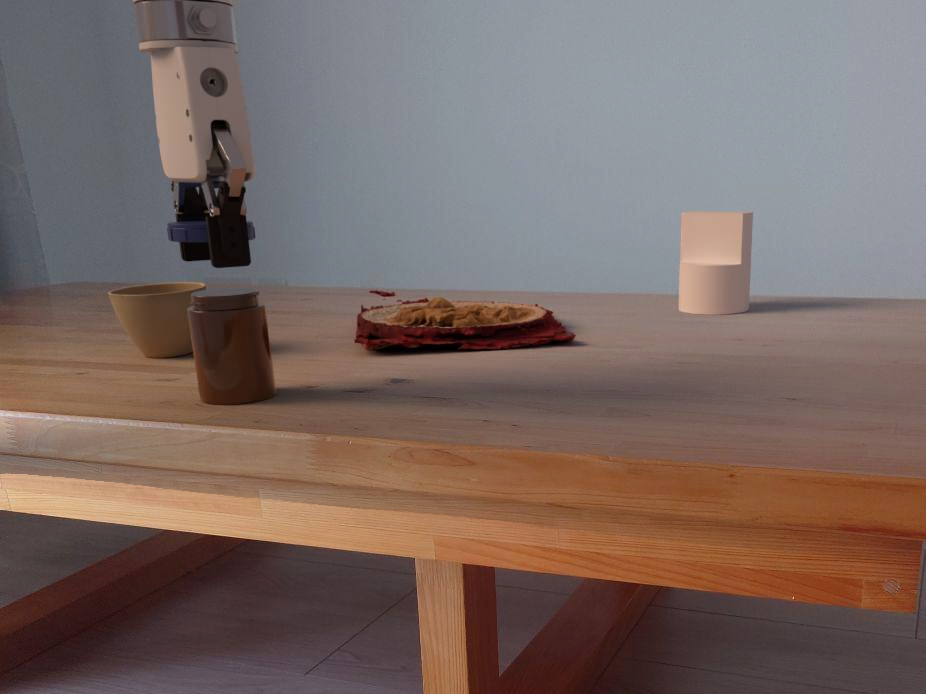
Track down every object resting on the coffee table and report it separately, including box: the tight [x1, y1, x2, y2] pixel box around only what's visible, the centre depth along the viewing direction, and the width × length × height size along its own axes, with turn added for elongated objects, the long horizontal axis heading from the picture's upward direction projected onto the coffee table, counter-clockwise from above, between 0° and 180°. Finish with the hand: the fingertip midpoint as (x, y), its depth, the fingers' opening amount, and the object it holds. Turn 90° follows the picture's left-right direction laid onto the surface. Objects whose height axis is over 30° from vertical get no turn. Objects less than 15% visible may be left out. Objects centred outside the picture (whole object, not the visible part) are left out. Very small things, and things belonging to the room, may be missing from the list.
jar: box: [187, 287, 277, 406], centre depth 89 cm, size 7×7×9 cm
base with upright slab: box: [678, 210, 754, 316], centre depth 129 cm, size 9×9×12 cm
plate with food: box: [353, 289, 577, 351], centre depth 119 cm, size 24×26×4 cm
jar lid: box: [166, 220, 256, 243], centre depth 85 cm, size 7×7×1 cm
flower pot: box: [107, 281, 207, 359], centre depth 110 cm, size 10×10×7 cm
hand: (215, 261), depth 86 cm, fingers closed on jar lid, 7 cm apart
